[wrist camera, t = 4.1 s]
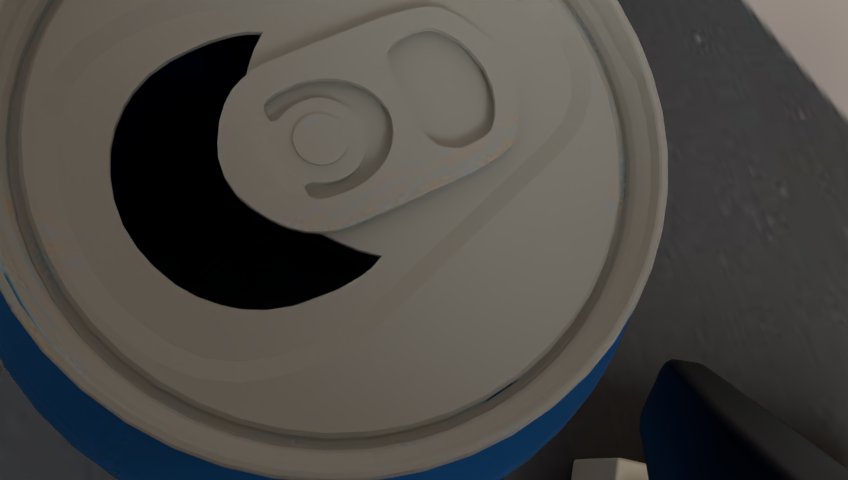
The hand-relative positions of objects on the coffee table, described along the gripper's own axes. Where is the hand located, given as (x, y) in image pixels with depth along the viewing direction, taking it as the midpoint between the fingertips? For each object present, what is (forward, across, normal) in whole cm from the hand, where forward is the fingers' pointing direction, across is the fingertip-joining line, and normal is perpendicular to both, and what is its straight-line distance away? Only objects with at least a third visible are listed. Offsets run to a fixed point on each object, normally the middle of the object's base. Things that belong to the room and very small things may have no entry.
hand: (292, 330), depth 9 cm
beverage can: (+7, 0, +6) cm, 9 cm away
